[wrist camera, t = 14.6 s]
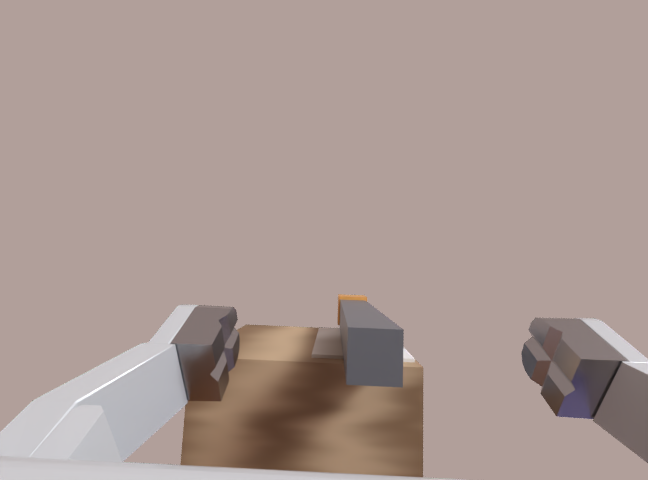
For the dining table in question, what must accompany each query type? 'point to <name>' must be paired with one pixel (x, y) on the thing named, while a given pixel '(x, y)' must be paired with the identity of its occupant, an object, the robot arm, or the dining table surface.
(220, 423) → the wood grain block
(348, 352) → the marker
